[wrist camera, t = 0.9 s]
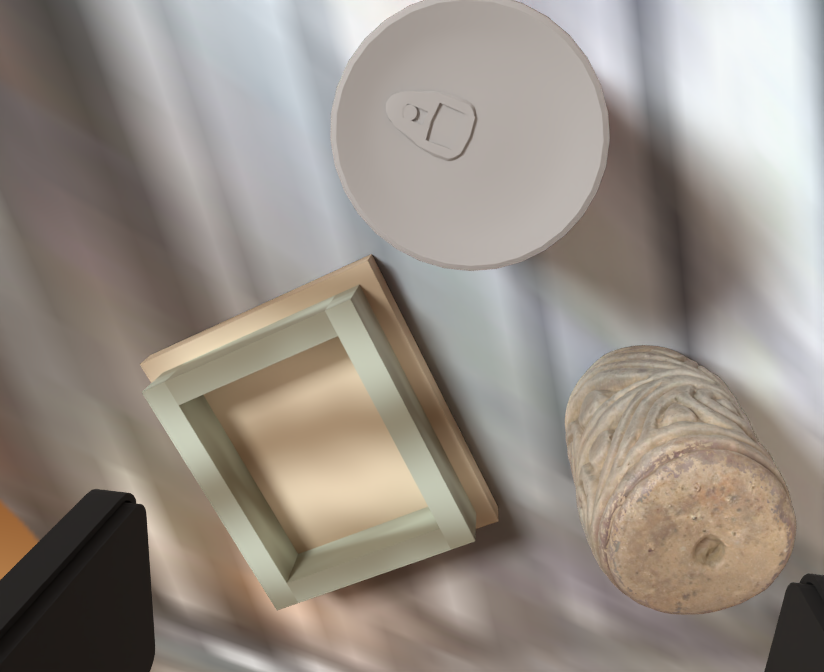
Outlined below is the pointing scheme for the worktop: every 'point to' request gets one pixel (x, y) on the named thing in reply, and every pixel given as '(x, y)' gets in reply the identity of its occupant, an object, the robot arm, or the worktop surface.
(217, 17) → the worktop surface
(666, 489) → the carving
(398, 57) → the canned food
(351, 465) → the beige shallow tray
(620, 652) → the worktop surface
